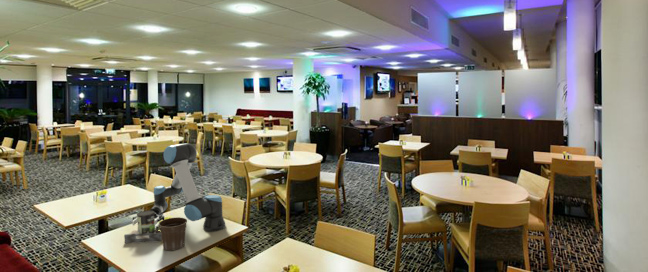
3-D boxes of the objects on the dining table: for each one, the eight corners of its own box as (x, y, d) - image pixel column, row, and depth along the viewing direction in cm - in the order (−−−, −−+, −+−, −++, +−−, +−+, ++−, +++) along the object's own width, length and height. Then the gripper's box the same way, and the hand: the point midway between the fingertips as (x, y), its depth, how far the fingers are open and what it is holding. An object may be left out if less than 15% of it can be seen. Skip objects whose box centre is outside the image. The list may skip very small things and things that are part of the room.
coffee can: (158, 231, 234) (157, 210, 232) (148, 237, 224) (147, 216, 222) (145, 229, 236) (144, 209, 234) (134, 235, 226) (133, 215, 224)
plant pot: (193, 242, 224) (192, 218, 222) (178, 253, 208) (176, 227, 206) (171, 240, 227) (169, 216, 225) (154, 251, 211) (152, 225, 209)
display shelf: (167, 233, 238) (166, 225, 237) (160, 241, 225) (160, 233, 224) (133, 234, 235) (132, 227, 235) (124, 243, 222) (124, 235, 221)
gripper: (174, 216, 249) (164, 227, 228) (137, 217, 246) (124, 229, 225) (173, 206, 248) (163, 216, 227) (136, 207, 245) (123, 218, 224)
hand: (144, 223), depth 226 cm, fingers open, 13 cm apart
